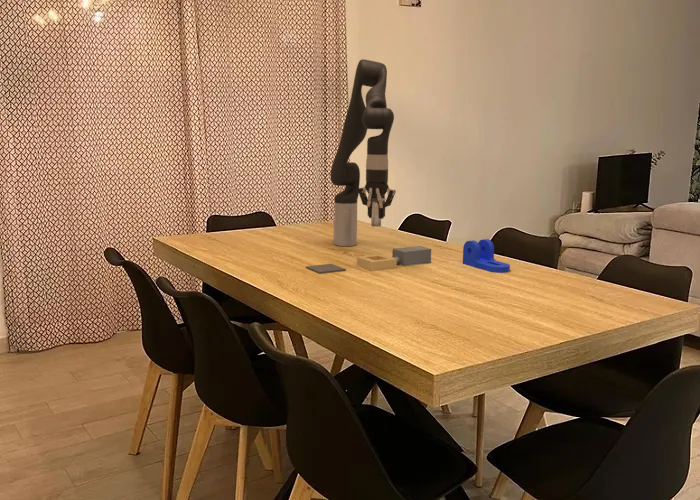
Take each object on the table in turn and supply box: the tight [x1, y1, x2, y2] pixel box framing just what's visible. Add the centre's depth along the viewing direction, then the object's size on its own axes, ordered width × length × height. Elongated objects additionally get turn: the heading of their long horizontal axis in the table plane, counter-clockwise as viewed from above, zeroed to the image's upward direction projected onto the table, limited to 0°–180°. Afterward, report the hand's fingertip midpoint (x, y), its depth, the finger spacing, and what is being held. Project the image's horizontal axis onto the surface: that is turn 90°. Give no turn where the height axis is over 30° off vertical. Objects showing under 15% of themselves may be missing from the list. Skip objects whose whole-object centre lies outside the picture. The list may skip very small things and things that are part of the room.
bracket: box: [462, 238, 511, 274], centre depth 245 cm, size 18×8×9 cm, turn 29°
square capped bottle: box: [370, 197, 382, 228], centre depth 241 cm, size 3×3×10 cm
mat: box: [305, 263, 347, 275], centre depth 239 cm, size 10×10×1 cm
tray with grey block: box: [356, 245, 432, 271], centre depth 248 cm, size 26×10×5 cm, turn 121°
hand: (376, 217), depth 242 cm, fingers closed on square capped bottle, 3 cm apart
